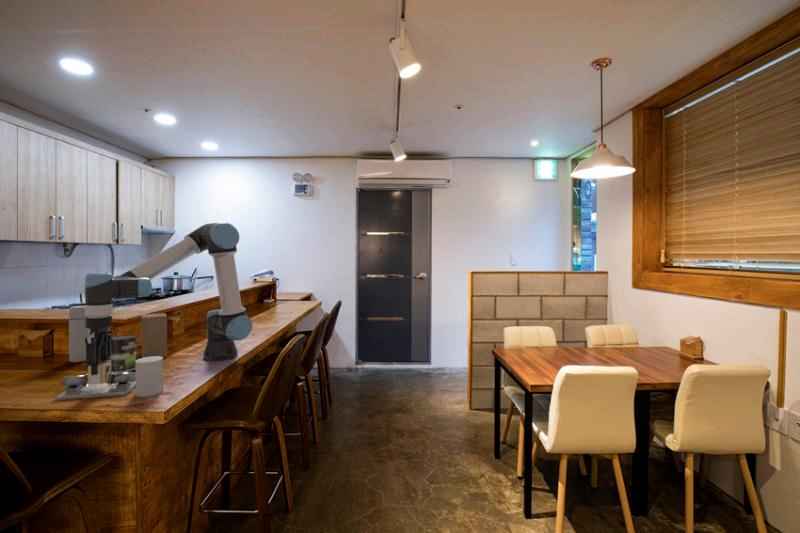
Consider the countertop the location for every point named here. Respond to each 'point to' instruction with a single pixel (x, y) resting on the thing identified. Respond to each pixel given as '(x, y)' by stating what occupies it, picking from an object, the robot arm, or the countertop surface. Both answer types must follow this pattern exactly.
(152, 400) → the countertop surface
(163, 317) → the wooden block
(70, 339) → the water bottle
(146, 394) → the cup
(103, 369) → the coupler
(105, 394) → the shaft bed
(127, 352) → the coffee can
